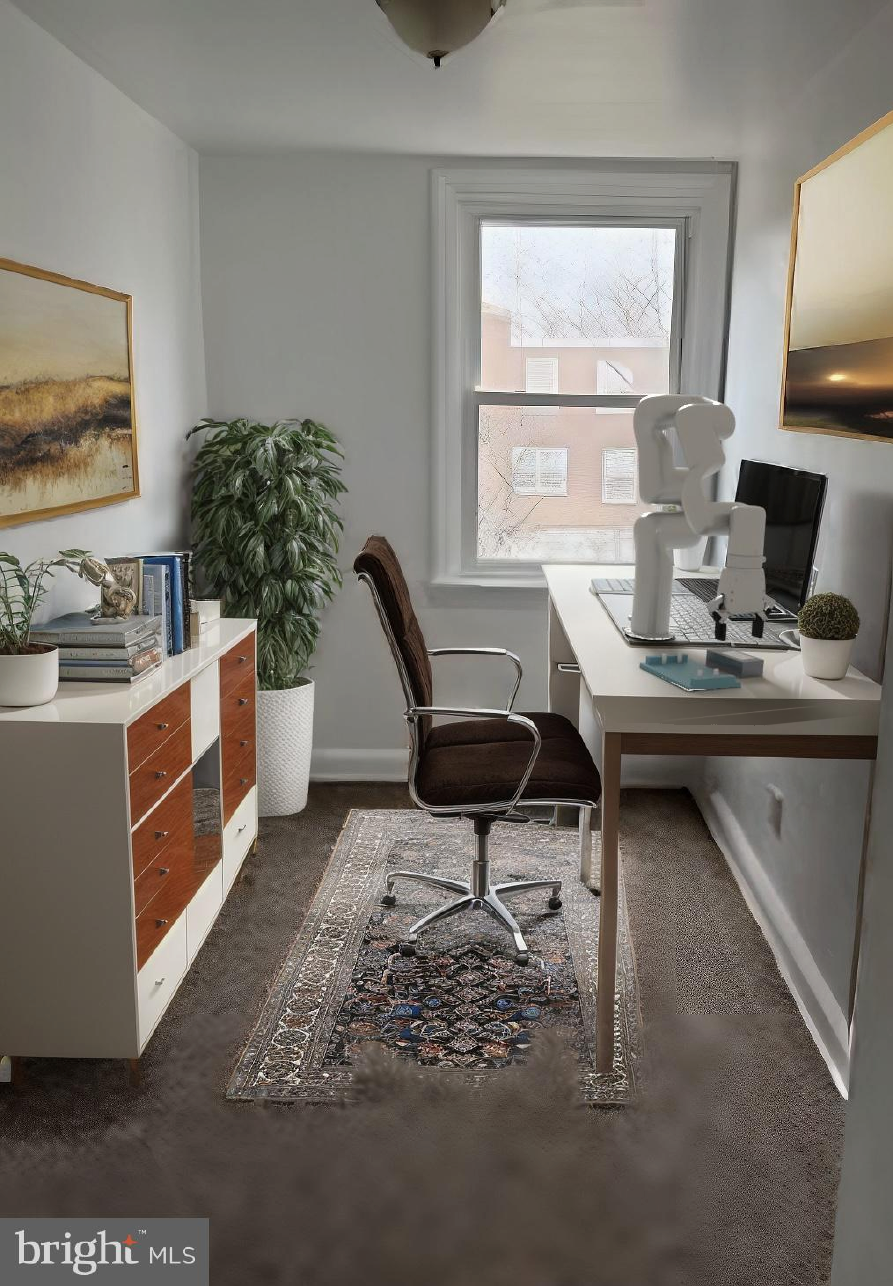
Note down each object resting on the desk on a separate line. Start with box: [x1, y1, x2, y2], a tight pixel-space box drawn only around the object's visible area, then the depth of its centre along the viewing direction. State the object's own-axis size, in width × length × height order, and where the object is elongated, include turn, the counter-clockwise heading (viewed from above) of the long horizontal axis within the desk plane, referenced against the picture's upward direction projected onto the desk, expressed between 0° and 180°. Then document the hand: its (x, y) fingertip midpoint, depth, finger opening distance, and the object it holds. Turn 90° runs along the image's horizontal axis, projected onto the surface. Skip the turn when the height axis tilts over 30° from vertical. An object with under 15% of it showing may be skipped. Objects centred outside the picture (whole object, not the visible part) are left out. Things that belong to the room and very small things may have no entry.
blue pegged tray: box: [639, 651, 742, 690], centre depth 228 cm, size 20×13×4 cm, turn 20°
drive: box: [705, 646, 765, 680], centre depth 234 cm, size 12×6×4 cm, turn 26°
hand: (738, 638), depth 232 cm, fingers open, 9 cm apart
